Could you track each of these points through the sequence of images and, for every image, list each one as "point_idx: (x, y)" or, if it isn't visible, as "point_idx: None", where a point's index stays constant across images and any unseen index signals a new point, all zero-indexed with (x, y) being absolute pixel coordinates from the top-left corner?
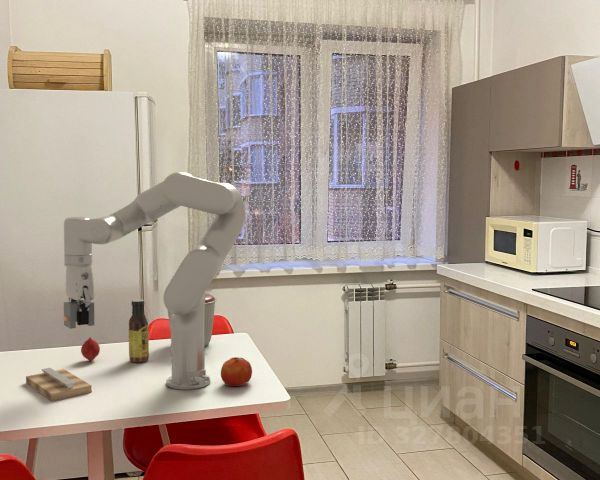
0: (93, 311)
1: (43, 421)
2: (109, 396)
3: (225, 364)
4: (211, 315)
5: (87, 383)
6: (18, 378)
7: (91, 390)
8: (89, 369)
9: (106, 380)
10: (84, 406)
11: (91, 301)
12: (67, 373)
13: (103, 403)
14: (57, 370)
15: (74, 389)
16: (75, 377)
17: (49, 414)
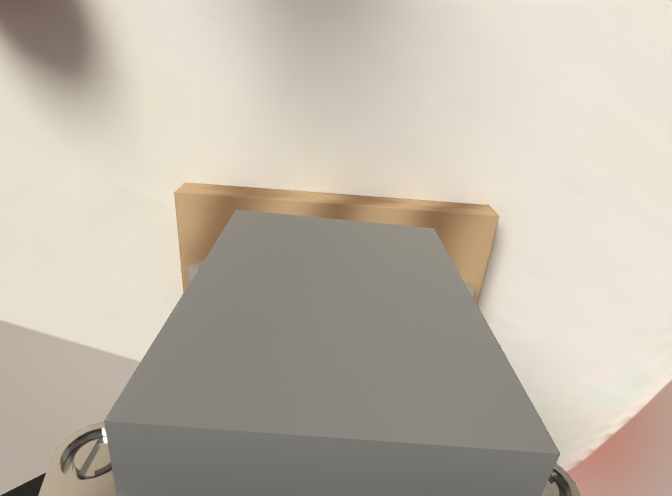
0: (483, 333)
1: (587, 415)
2: (595, 179)
3: None
4: None
5: (463, 216)
6: (117, 318)
7: (491, 208)
8: (162, 38)
9: (398, 71)
10: (596, 292)
11: (393, 444)
12: (260, 211)
13: (636, 234)
14: (183, 222)
15: (481, 282)
16: (344, 213)
17: (554, 386)
